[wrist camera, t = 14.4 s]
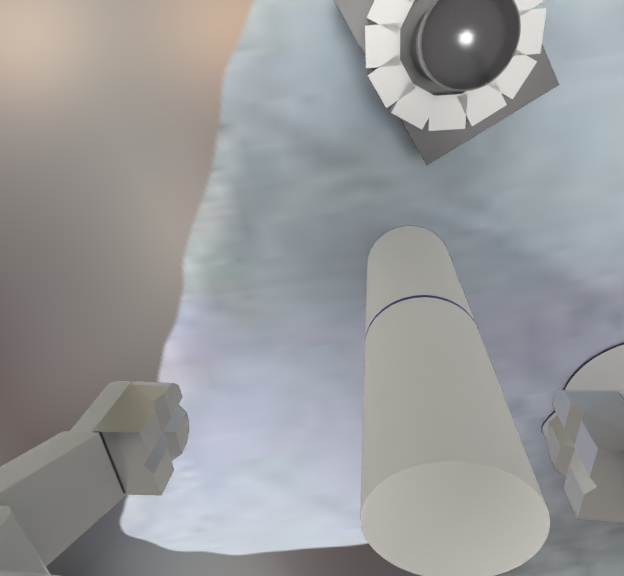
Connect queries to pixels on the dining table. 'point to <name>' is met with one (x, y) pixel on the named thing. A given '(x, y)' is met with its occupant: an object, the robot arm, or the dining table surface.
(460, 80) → the lens
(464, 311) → the cylindrical container
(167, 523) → the dining table surface
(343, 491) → the dining table surface
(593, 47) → the dining table surface
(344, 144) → the dining table surface
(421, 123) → the camera body
